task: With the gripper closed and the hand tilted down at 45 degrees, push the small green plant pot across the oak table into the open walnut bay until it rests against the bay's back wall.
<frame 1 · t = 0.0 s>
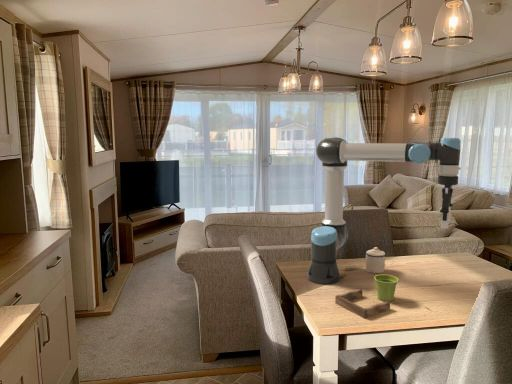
hand: (445, 224, 169), 28 cm above the table, tool pointing down, fingers open, 13 cm apart
plant pot: (385, 298, 162), on the table
walnut bay: (362, 305, 156), on the table
teacup with lid: (373, 269, 196), on the table
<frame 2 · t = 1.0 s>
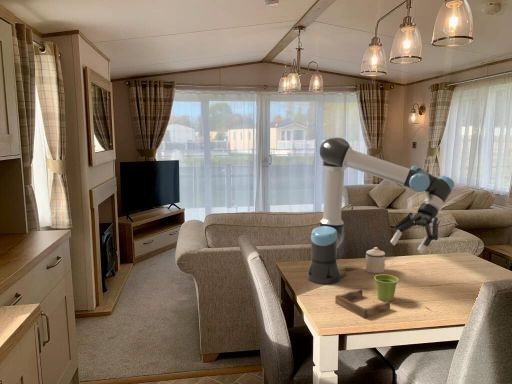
hand: (405, 247, 164), 20 cm above the table, tool tilted 45°, fingers open, 13 cm apart
nothing on the table moved.
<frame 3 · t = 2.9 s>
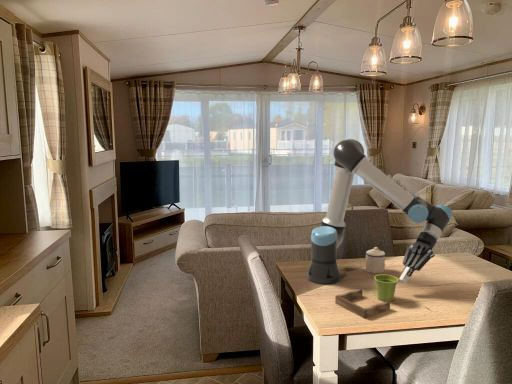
hand: (401, 281, 166), 5 cm above the table, tool tilted 45°, fingers closed
nothing on the table moved.
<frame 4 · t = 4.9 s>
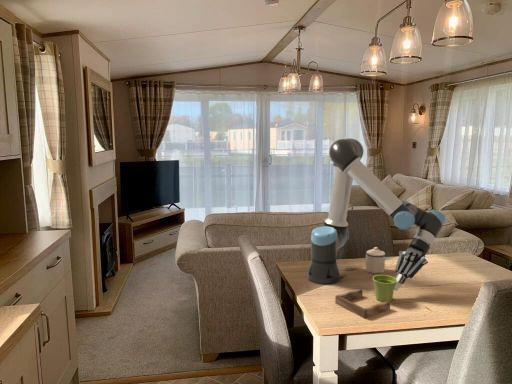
hand: (394, 289, 162), 4 cm above the table, tool tilted 45°, fingers closed
plant pot: (383, 299, 162), on the table, touching gripper
everything else where it was.
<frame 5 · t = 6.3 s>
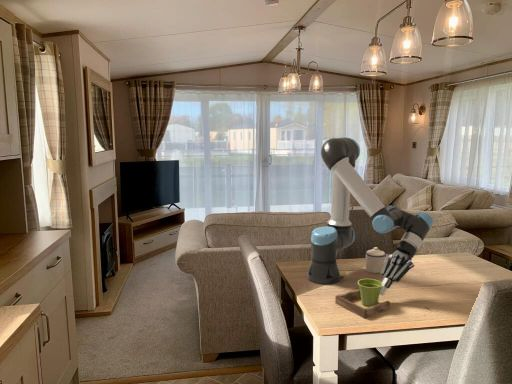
hand: (380, 293, 158), 4 cm above the table, tool tilted 45°, fingers closed
plant pot: (369, 304, 157), on the table, touching gripper
everything else where it was.
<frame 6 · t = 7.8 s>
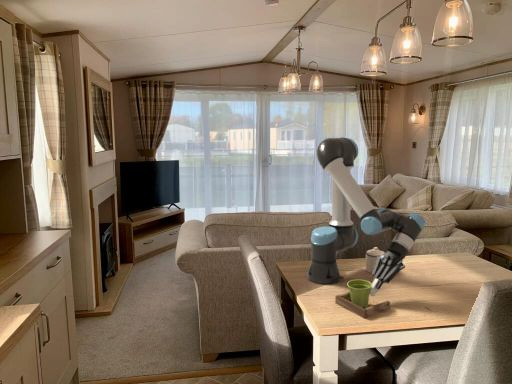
hand: (370, 294, 157), 4 cm above the table, tool tilted 45°, fingers closed
plant pot: (360, 305, 156), on the table, touching gripper
everything else where it was.
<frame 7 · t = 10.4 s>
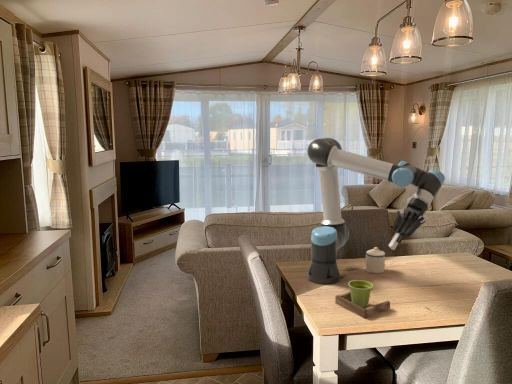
hand: (391, 247, 161), 21 cm above the table, tool tilted 45°, fingers closed
plant pot: (359, 305, 156), on the table
everything else where it was.
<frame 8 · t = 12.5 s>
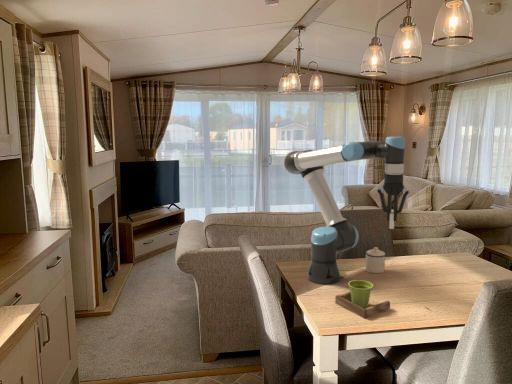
hand: (391, 228, 170), 26 cm above the table, tool pointing down, fingers closed
nothing on the table moved.
at the end: plant pot 1.1 cm from the walnut bay (horizontally); plant pot tilted 0° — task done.
